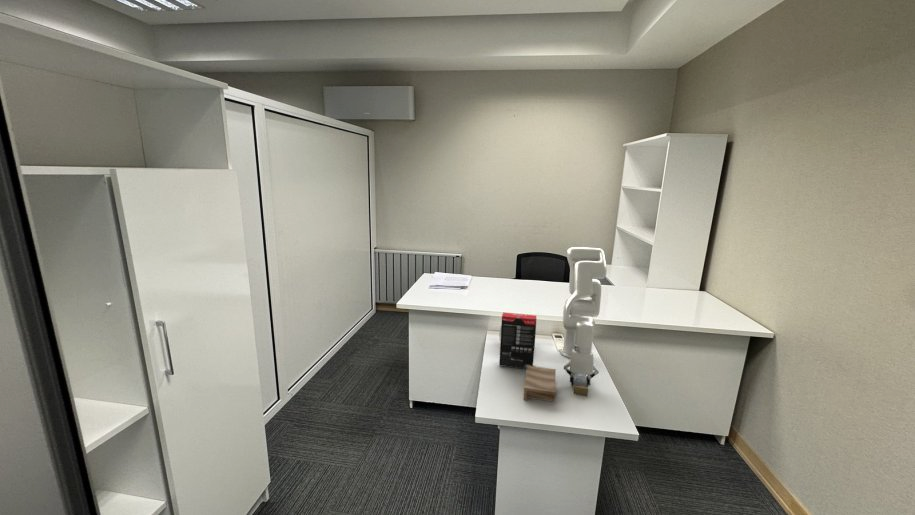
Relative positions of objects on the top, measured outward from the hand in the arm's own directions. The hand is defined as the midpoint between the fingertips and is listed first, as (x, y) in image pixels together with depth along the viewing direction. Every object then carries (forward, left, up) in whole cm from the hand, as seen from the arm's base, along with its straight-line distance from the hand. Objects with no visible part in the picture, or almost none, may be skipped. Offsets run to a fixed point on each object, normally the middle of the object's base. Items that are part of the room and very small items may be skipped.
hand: (579, 384), depth 172 cm
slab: (0, 0, -1) cm, 1 cm away
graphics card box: (-11, -30, -1) cm, 32 cm away
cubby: (+9, -18, -1) cm, 20 cm away
